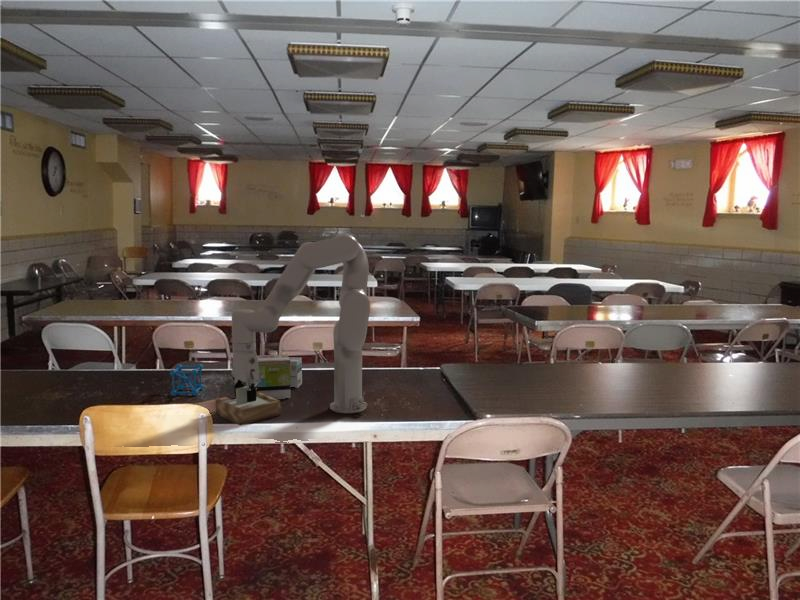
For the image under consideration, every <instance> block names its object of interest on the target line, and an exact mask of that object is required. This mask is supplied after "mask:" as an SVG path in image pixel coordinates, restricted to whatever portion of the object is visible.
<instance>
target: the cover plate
mask: <svg viewBox="0 0 800 600" xmlns="http://www.w3.org/2000/svg"><path fill="white" fill-rule="evenodd" d="M250 386H251V385H250ZM247 390H248V388H247V385H246V386H245V385H244V387H241V388H236V397H235V399H231V400H229V401H225V402H227V403H229V404H231V405H233V406H236V407H238V408H240V409H243V408H247V407H251V406H256V405H260V404H264V403H269V402H270V401H267V400H265V399H263V398H260V397H258V396H256V401H253V402H247Z"/></svg>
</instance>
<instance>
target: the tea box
mask: <svg viewBox="0 0 800 600" xmlns="http://www.w3.org/2000/svg"><path fill="white" fill-rule="evenodd" d="M257 358H258V366H259V383H258V386H257V389H256V391H258V392H260V393H262V394H265V395H267V396H270V397H272V398H275V399H277V400H286V399H285V398H290V399H291V381H290V369H291V368H290V367H291V362H290V359H289V355H288V354H267V355H265V354H264V355H263V354H261V355H257ZM251 380H252V379H249V381H251ZM251 384H252V383H250V385H251Z"/></svg>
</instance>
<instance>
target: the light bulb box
mask: <svg viewBox="0 0 800 600" xmlns="http://www.w3.org/2000/svg"><path fill="white" fill-rule="evenodd" d="M288 357H289V356H288ZM289 359H290V362H291V367H290V368H291V369H290V381H291V387H295V388H294V389H299V387H300V386H301V385H303V367H302V364H303V362H302V357H289Z"/></svg>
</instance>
